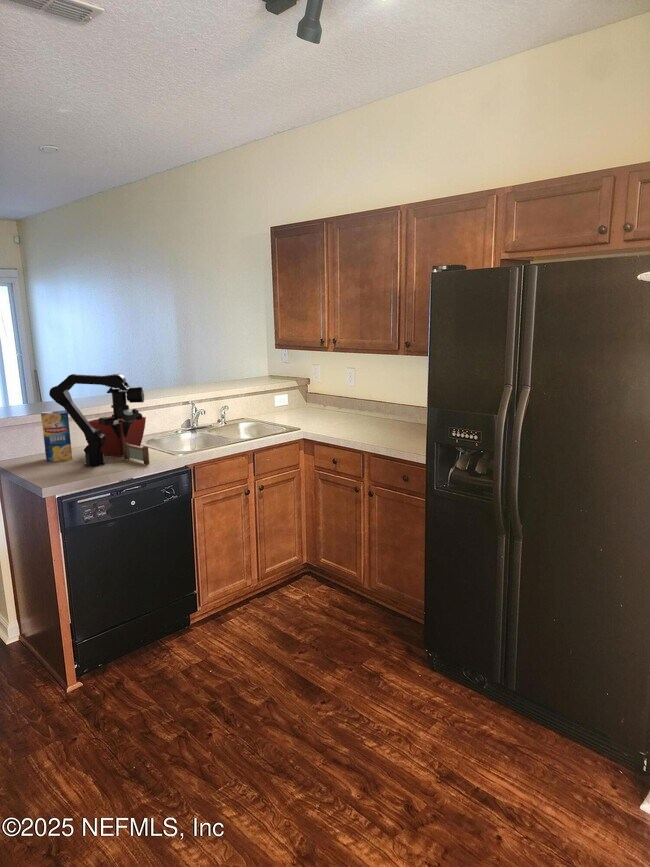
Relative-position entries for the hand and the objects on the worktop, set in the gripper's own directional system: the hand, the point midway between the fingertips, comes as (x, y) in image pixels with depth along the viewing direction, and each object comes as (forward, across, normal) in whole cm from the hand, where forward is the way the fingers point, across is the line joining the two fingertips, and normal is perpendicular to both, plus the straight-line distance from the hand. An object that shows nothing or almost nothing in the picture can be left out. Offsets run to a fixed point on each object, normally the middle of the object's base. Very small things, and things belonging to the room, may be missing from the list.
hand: (122, 437), depth 252 cm
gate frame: (+12, +6, -1) cm, 13 cm away
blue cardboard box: (+12, -13, +32) cm, 37 cm away
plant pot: (+12, +11, +20) cm, 26 cm away
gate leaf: (+11, +6, -1) cm, 12 cm away
